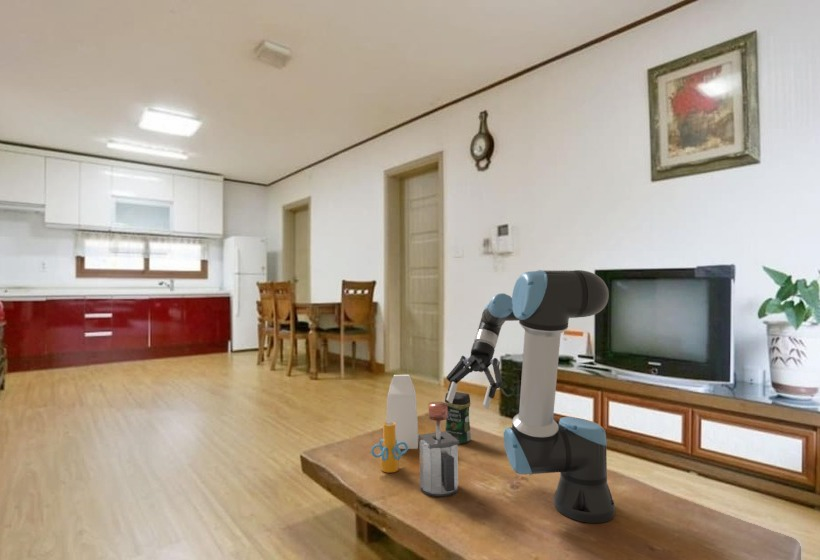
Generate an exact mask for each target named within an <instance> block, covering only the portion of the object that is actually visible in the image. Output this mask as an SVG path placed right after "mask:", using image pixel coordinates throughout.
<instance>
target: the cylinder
mask: <svg viewBox="0 0 820 560" xmlns="http://www.w3.org/2000/svg"><path fill="white" fill-rule="evenodd" d="M382 423H383V424H382V425H383V426H382V429H383V432H382V433H383V436H382V437H383V438H381V439H380V440H379V442H378V443H376V444H373V446H372V447H371V450H370V451H371V452H370V453H371V455H372V457H374V458H380V470H381V471H382V472H383V473H385V474H386V473H388V474H389V473H390V474H393V473H395V472H398V471H399V470H400V460H401V458H402V455H403V456H404V455H405V454H406V453H407V451H408V450H409V449H408V446H407V444H406V443H405V442H399V443H398V444H397V440H396V434H395V423H394V422H386V421H385V422H382ZM382 444H383V445H382ZM400 444H404V445H405V447H406V448H405V449H404V450H403V451H401V450H402V449H400V448H399V447H398V446H399V445H400ZM377 447H378V448H379V451H380V453H379V454H376V453H375V449H376V448H377Z"/></svg>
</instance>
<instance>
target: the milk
mask: <svg viewBox="0 0 820 560" xmlns="http://www.w3.org/2000/svg"><path fill="white" fill-rule="evenodd" d="M417 407H418V406H417V393H416V388H415V385H414V383H413V380H412V377H411V376H410V374H393V377H392V379H391V382H390V383H389V388H388V393H387V395H386V418H385V422H394V423H395V434H396V440H397V444H398V443H399V442H405V443H406V444H407V446H408V450H418V449H419V425H418V424H419V423H418V410H417ZM398 447H399V448H400V450H405V448H406V447H405V445H404V444H400V445H399V446H398Z"/></svg>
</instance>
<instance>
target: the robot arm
mask: <svg viewBox="0 0 820 560" xmlns="http://www.w3.org/2000/svg"><path fill="white" fill-rule="evenodd" d="M609 293H610V292H609V288H608V286H607V284H606V282H605V280H603V279H602V278H601V277H600V276H598V275H597V274H596V273H594V272H591V271H587V270H583V269H582V270H579V269H578V270H577V269H575V270H543V269H542V270H541V269H538V270H533V271H532V270H531V271H525V272H523V273H521V274H520V275H519V276H518V278H517V279H516V281H515V283H514V286H513V289H512V294H511V295H510V294H506V293H498V294H495V295H493V297H492V298H491V299H490V301H489V303H488V304H486V305H485V307H484V309H483V312H482V314H481V318H480V322H479V325H478V328H477V331H476V334H475V337H474V339H473V344H472V346H471V350H470V356H469V357H466V356H465V355H461V356H460V359H459V361H458V362H457V363H456V364H455V366H453V368H452V370H451V371H450V372H449V373H448V375H447V376H446V380H447V381H448V382H449V384H448V387H447V393H448V392H449V393H448V396H447V399H446V400H447V401H448V402H449V403H452V402H453V399H454V396H455V393H456V392H457V389H458V386H459V385H458V383H459V382H460V381H461V380H463V379H464V378H465V377H466V376H467V375H469V374H470V373H473V372H474V373H475V372H479V373H483V372H484V375H485V376H486V379H487V380H488V382H489V384H490V385H487V388H486V392H485V396H484V399H483V401H482V406H483V408H484V409H486V410H489V409H490V406H491V401H492V399H494V398H495V394H496V392H497V389H499V388H500V389H502V388H504V384H503V383H504V382H503V379H502V374H501V371H500V370H501V369H500V364H501V362H500V360H499V359H498V358H497V357H494V354H495V349H496V346H497V343H498V339H499V336H500V332H501V329H502V328H503V327H502V326H503V325H504V324H505V322H507V321H508V322H509V321H511V322H514V321H515V322H517V321H518V323H519V325H520V327H521V328H523V330H524V337H523V353H522V354H523V355H522V366H521V380H520V382H521V383H520V393H519V409H518V411H519V412H518V414H516V415H514V416H513V418H512V423H511V424H512V425H511V427H510V426H508V427H506V428H505V429H504V430H503V443H504V449H505V453H506V457H507V461H508V463H509V464H510V466H511V470H512V471H514V472H515V473H516V474H517V475H530V476H532V475H536V474H537V475H538V474H539V475H540V474H552V473H553V474H555V473H560V475H559V476H560V477H559V481H558V483H557V486H556V490H555V492H554V496H553V499H554V500H553V502H554V503H553V504H554V507H555V509H556V510H557V511H558V512H559V513H560V514H562V515H563V516H565V517H567V518H569V519H571V520H574V521H578V522H582V523H586V524H587V523H588V524H600V523H601V524H602V523H607V522H610V521H611V520H613V519H614V517H616V516H615V515H616V504H615V501H614V498H613V495H612V492H611V490H610V487H609V485H608V470H607V469H608V468H607V467H608V463H607V462H608V461H607V459H608V458H607V446H608V442H607V434H606V430H605V429H604V428H603V426H602V425H600V424H599V423H597V422H594V421H592V420H588V419H586V418H585V419H584V418H579V417H575V416H564V417H560V418H559V421H558V423H557V421H556V420H555V419H554V413H555V412H554V411H555V401H556V390H557V389H556V388H557V381H558V369H559V367H558V366H559V358H560V357H559V355H560V346H561V337H562V336H561V334H562V333H564V332H565V331H566V330H568V327H569V319H572V318H573V319H574V318H575V319H577V318H586V317H587V318H588V317H591V316H595V315H597V314H598V313H600V312H601V311H603V310H604V309H605V308H606V306H607V304H608V301H609V296H610V295H609ZM493 357H494V358H493ZM490 366H492V368H493V374H494V378H495V379H494V378H493V375H492V374H491V371H490V369H489V367H490Z"/></svg>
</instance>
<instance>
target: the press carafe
mask: <svg viewBox="0 0 820 560" xmlns="http://www.w3.org/2000/svg"><path fill="white" fill-rule="evenodd" d="M418 440H419V441H418V447H419V487H420V488H419V489H420V492H421V493H422V494H423V495H425V496H428V497H430V498H436V499H437V498H438V499H440V498H441V499H442V498H449V497H452V496H454V495H456V494H457V493H458V491H459V465H458V464H459V463H458V462H459V461H458V457H459V455H458V452H459V451H458V449H459V448H458V445H460V443H459V441H458V440H457V439H456V438H455V437H453V436H452V435H451V434H450V433H448V432H447V431H445V430H443V431H441V439H440V440H436V431H435V432H431V433H430V432H429V433H421V434H418Z"/></svg>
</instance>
